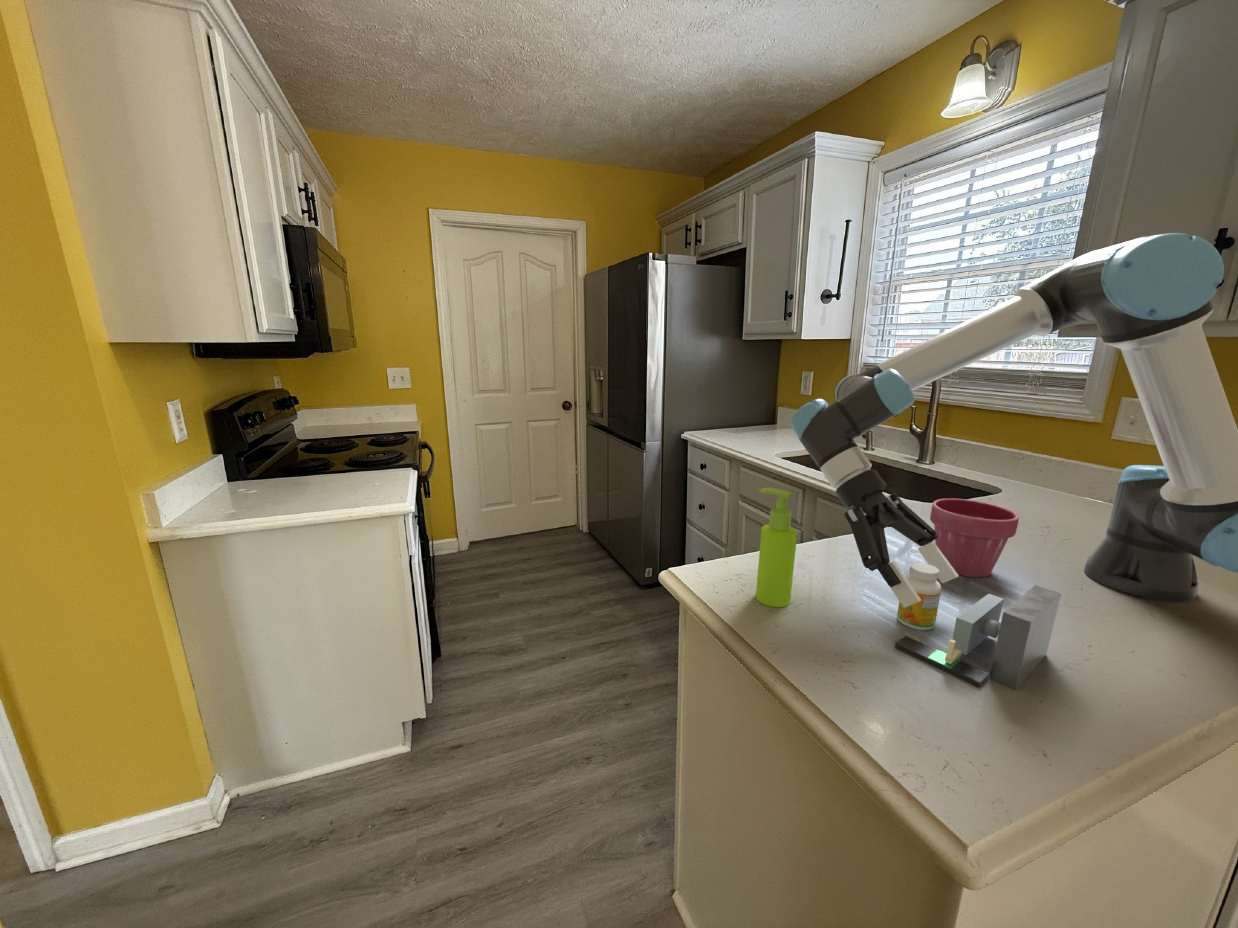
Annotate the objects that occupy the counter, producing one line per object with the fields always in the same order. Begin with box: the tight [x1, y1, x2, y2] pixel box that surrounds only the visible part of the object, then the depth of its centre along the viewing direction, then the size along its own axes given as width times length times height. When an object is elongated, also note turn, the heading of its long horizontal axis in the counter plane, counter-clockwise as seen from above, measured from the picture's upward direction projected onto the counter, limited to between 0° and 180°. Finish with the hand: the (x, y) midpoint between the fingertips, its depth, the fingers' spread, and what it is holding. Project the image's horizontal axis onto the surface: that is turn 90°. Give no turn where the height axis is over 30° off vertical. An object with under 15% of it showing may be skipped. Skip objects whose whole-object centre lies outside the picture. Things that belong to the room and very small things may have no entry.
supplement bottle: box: [896, 562, 942, 631], centre depth 81 cm, size 5×5×10 cm
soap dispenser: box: [755, 487, 798, 608], centre depth 87 cm, size 6×7×20 cm
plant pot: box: [929, 498, 1020, 578], centre depth 101 cm, size 14×14×13 cm
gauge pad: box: [945, 593, 1004, 664], centre depth 73 cm, size 4×16×5 cm, turn 126°
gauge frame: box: [894, 584, 1062, 690], centre depth 73 cm, size 14×16×10 cm
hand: (932, 591), depth 79 cm, fingers open, 13 cm apart
